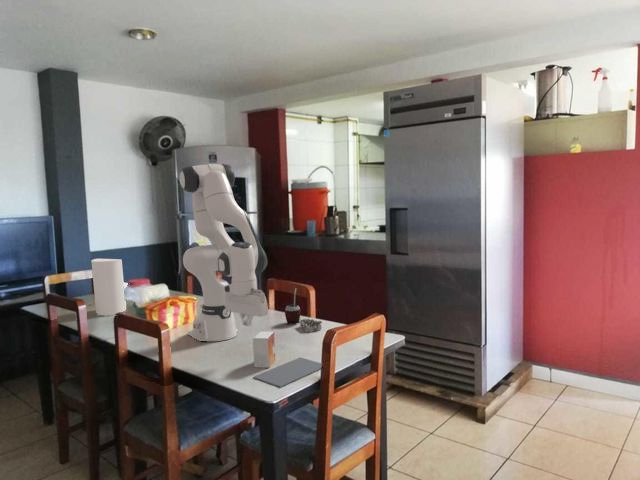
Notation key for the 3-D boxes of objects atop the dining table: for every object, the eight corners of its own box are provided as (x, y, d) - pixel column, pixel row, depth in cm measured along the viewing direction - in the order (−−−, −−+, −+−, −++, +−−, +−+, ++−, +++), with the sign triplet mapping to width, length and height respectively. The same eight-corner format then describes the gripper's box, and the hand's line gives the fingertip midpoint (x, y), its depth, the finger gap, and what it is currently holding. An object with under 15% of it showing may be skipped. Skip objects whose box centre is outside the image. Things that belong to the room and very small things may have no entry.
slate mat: (253, 377, 160) (253, 376, 160) (300, 358, 176) (300, 357, 176) (280, 387, 151) (280, 386, 151) (327, 366, 167) (327, 365, 167)
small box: (269, 368, 168) (267, 338, 167) (253, 367, 169) (252, 338, 168) (276, 359, 176) (274, 331, 175) (261, 359, 177) (259, 331, 176)
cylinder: (112, 317, 246) (107, 262, 243) (88, 314, 253) (83, 261, 250) (139, 308, 261) (134, 256, 258) (115, 306, 269) (111, 256, 266)
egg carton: (323, 331, 209) (322, 321, 208) (306, 333, 206) (306, 324, 206) (314, 324, 219) (314, 315, 218) (298, 326, 216) (298, 317, 216)
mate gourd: (288, 326, 217) (287, 293, 215) (282, 322, 224) (280, 290, 222) (304, 323, 220) (302, 291, 218) (297, 319, 227) (296, 287, 225)
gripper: (270, 288, 171) (273, 327, 172) (234, 283, 184) (236, 319, 186) (256, 291, 166) (259, 331, 167) (220, 286, 180) (223, 323, 181)
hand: (247, 325), depth 176 cm, fingers closed
